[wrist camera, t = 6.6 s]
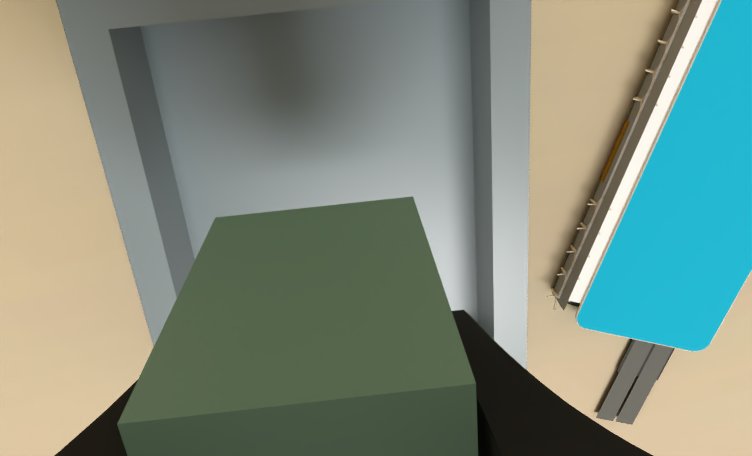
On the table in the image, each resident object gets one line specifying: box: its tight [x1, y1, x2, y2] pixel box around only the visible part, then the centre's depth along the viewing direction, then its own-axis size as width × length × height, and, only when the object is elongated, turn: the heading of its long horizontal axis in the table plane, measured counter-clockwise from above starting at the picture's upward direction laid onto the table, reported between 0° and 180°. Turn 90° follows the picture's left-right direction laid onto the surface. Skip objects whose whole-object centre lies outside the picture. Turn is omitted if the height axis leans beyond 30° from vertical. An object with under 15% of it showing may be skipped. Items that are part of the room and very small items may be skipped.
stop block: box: [117, 196, 478, 456], centre depth 10 cm, size 4×4×6 cm
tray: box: [56, 0, 531, 370], centre depth 18 cm, size 11×14×3 cm
